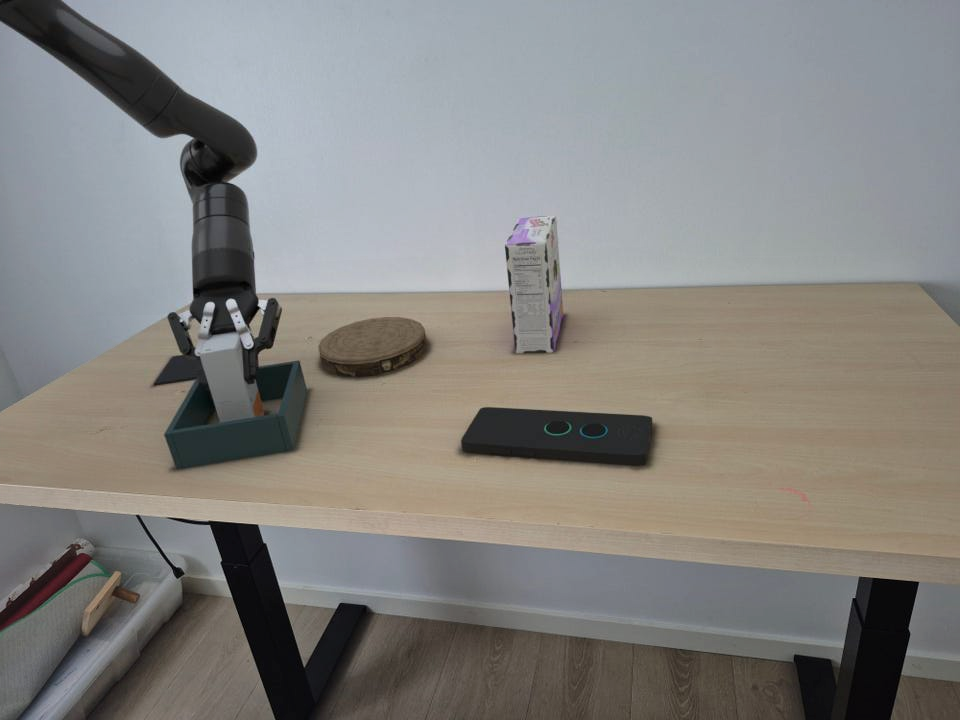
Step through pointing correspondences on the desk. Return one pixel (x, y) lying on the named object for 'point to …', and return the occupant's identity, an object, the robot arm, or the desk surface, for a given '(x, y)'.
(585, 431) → the smart home device
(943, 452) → the desk surface
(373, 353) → the brown flat disc
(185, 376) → the desk pad
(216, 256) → the robot arm
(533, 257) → the candy box
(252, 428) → the storage box
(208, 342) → the cosmetic box
